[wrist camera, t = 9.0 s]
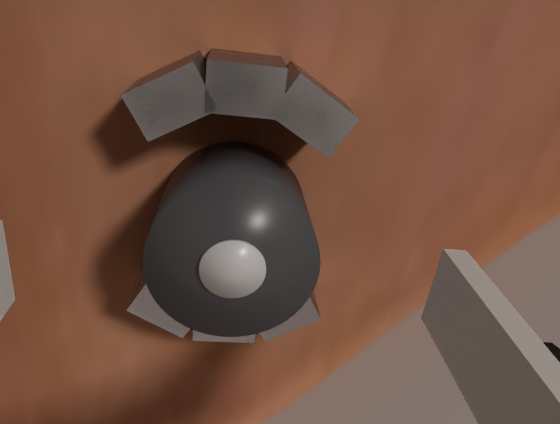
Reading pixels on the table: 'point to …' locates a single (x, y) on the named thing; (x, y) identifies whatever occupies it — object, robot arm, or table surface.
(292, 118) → the grey segmented ring
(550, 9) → the table surface
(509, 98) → the table surface
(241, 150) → the cap
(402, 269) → the table surface
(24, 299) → the table surface
